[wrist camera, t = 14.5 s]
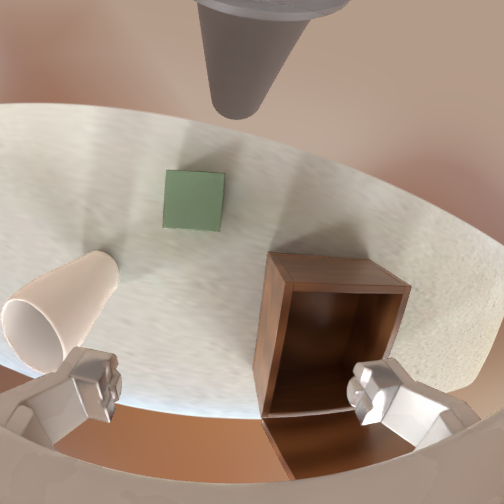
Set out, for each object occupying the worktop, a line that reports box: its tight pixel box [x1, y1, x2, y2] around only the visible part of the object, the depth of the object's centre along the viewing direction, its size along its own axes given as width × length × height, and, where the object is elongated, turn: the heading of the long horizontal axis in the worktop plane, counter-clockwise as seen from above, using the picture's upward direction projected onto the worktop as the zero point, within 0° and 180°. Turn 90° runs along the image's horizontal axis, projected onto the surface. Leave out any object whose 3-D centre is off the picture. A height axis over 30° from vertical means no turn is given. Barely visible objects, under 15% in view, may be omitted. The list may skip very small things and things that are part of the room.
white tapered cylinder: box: [1, 251, 120, 374], centre depth 22 cm, size 7×7×15 cm
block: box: [163, 170, 225, 232], centre depth 26 cm, size 5×5×5 cm
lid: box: [261, 410, 416, 480], centre depth 17 cm, size 16×13×5 cm
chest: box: [253, 252, 411, 418], centre depth 29 cm, size 16×13×9 cm
